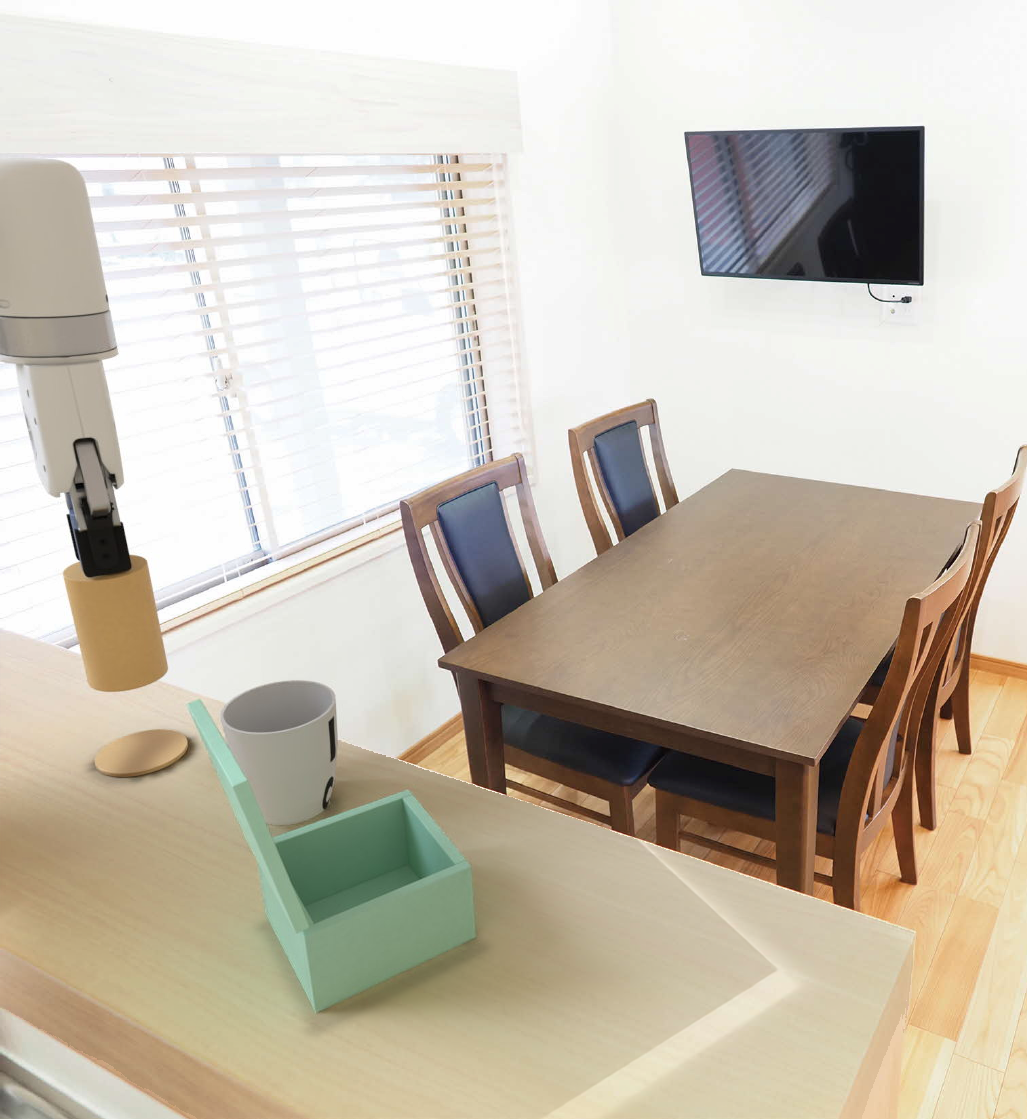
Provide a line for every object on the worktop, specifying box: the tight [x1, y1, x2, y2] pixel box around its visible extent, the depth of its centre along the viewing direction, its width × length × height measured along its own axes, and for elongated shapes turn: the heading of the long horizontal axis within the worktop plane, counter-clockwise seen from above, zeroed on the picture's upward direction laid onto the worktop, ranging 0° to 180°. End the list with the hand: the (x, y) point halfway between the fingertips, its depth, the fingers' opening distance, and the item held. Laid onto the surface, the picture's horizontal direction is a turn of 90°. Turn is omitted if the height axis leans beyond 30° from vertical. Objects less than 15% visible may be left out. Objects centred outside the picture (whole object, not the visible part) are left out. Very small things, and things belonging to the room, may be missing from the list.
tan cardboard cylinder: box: [62, 505, 169, 693], centre depth 78 cm, size 6×6×15 cm
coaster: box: [94, 728, 189, 778], centre depth 84 cm, size 7×7×1 cm
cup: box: [219, 679, 339, 826], centre depth 76 cm, size 8×8×10 cm
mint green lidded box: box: [256, 789, 477, 1014], centre depth 64 cm, size 11×11×7 cm
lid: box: [186, 698, 309, 934], centre depth 57 cm, size 11×11×1 cm
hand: (103, 562), depth 77 cm, fingers closed on tan cardboard cylinder, 3 cm apart
